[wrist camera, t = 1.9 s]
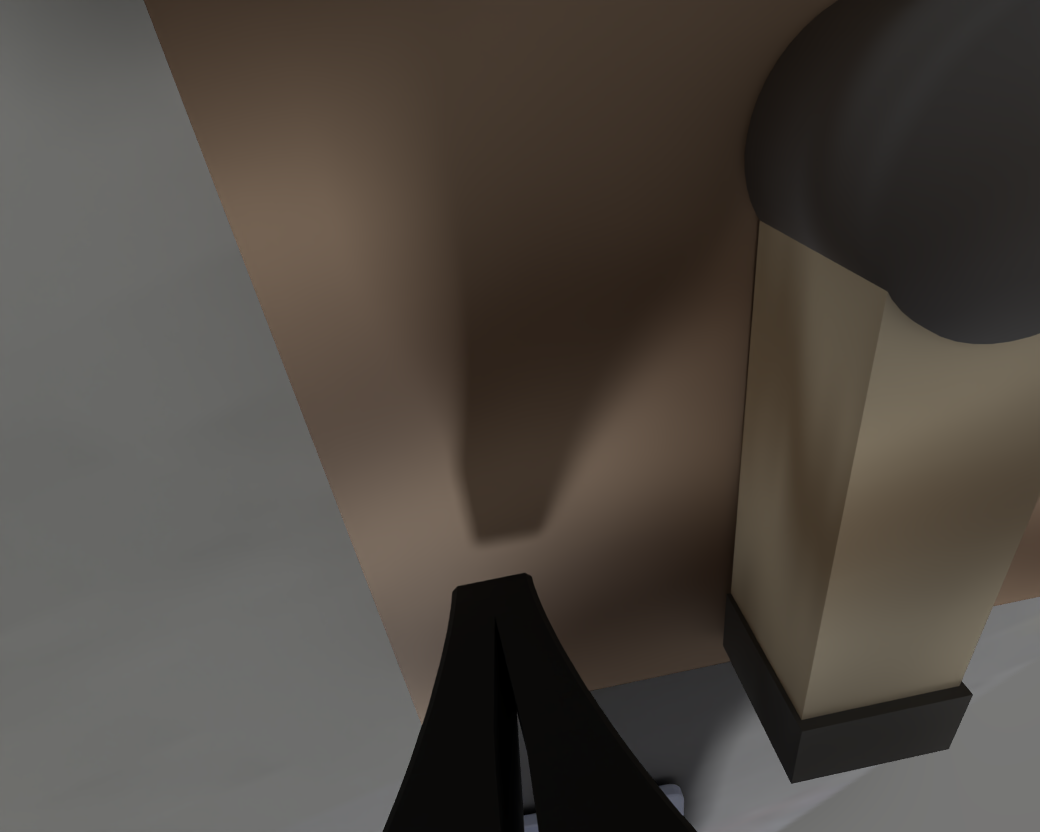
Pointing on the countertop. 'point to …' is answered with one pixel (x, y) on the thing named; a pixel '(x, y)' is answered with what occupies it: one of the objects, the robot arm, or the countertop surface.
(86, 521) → the countertop surface
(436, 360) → the wooden board
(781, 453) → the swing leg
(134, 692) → the countertop surface
